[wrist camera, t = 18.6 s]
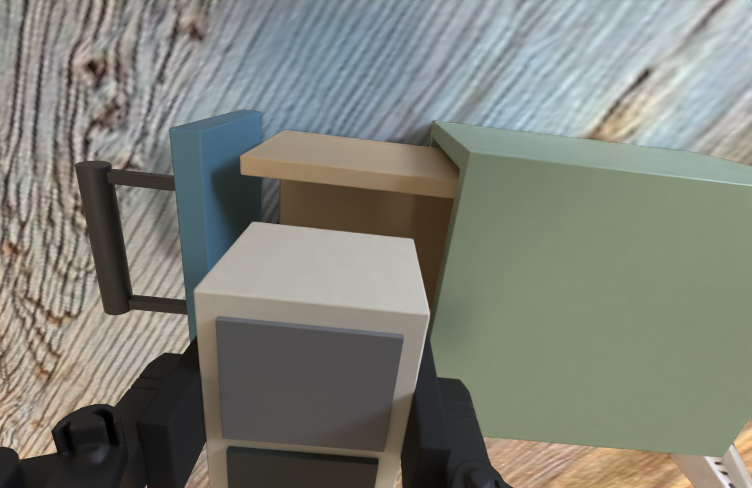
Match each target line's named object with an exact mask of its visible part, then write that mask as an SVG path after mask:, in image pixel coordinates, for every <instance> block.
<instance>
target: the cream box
mask: <svg viewBox="0 0 752 488" xmlns="http://www.w3.org/2000/svg"><path fill="white" fill-rule="evenodd" d="M194 304H195V316H196V328H197V340H198V352H199V364H200V376H201V388H202V400H203V412H204V424H205V436H206V448H207V460H208V472H209V484H210V488H395V485H396V480H397V475H398V470H399V465H400V460H401V454H402V449H403V444H404V439H405V434H406V429H407V424H408V420H409V415H410V410H411V405H412V400H413V395H414V391H415V387H416V382H417V377H418V372H419V367H420V362H421V358H422V353H423V348H424V343H425V338H426V333H427V328H428V323H429V318H430V311H429V307H428V302H427V298H426V293H425V289H424V285H423V280H422V276H421V271H420V267H419V262H418V258H417V253H416V249H415V244H414V240H413V239H408V238H399V237H389V236H380V235H371V234H362V233H353V232H344V231H334V230H325V229H316V228H307V227H298V226H289V225H279V224H270V223H261V222H252V223H251V224H250V225H249V226H248V228H247V229H246V230H245V231H244V232H243V233H242V235H241V236H240V237H239V238H238V239H237V240H236V241H235V243H234V244H233V245H232V246H231V247H230V248H229V250H228V251H227V252H226V253H225V254H224V255H223V256H222V258H221V259H220V260H219V261H218V262H217V263H216V265H215V266H214V267H213V268H212V269H211V270H210V272H209V273H208V274H207V275H206V276H205V277H204V278H203V280H202V281H201V282H200V283H199V284H198V285H197V287H196V288H195V289H194Z"/></svg>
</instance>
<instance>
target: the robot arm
mask: <svg viewBox="0 0 752 488" xmlns="http://www.w3.org/2000/svg"><path fill="white" fill-rule="evenodd" d="M51 432H52V436H53V439H54V442H55V445H56V448H57V453H53V454H48V455H43V456H37V457H32V458H27V459H21V460H20V459H19V456H18V454H17V453H16V452H15V451H14V450H13V449H11V448H7V447H0V488H145V486H146V484H147V488H184V487H185V485H186V483H187V481H188V479H189V477H190V474H191V472H192V470H193V468H194V466H195V464H196V462H197V459H198V457H199V455H200V453H201V451H202V449H203V447H204V445H205V442H206V436H205V424H204V412H203V400H202V388H201V376H200V364H199V352H198V340H197V335H196V336H195V338H194V339H193V340H192V342H191V343H190V345H189V346H188V348H187V349H186V350H185V352H184V353H183V354H175V353H163V354H162V355H160V356H159V357H157V358H156V359H155V360H153V361H152V362H150V363H149V364H148V365H147V367H146V368H145V369H144V370H143V372H142V373H141V374H140V376H139V378H137V379H136V381H135V382H134V383H133V384H132V386H131V388H130V389H128V391H127V392H126V393H125V394H124V396H123V397H122V398H121V400H120V401H119V402H118V403H117V405H116V406H115V407H113V406H110V405H108V404H94V405H90V406H86V407H82V408H80V409H78V410H76V411H74V412H72V413H69V414H68V415H67V416H65V417H64V418H63V419H62V420H60V421H59V422H58V423H57V424H56V426H55V427H54V428H53V430H52V431H51ZM401 470H402V487H403V488H513V487H511V486H510V485H508V484H507V483H506V482H504V480H503V479H502V477H501V475H500V474H499V472H497V471H496V470H495V469H494V468H493V467H492V465H491V463H490V461H489V457H488V454H487V451H486V447H485V444H484V440H483V437H482V433H481V430H480V426H479V423H478V419H477V418H476V412H475V409H474V408H473V402H472V399H471V395H470V392H469V390H468V389H467V388H466V386H465V385H464V384H463V382H462V381H461V380H460V379H452V378H442V377H437V373H436V368H435V363H434V358H433V353H432V348H431V343H430V337H429V332H428V328H427V333H426V338H425V343H424V348H423V353H422V358H421V362H420V367H419V372H418V377H417V382H416V387H415V391H414V395H413V400H412V405H411V410H410V415H409V420H408V424H407V429H406V434H405V439H404V444H403V449H402V454H401Z"/></svg>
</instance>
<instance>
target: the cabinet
mask: <svg viewBox="0 0 752 488" xmlns="http://www.w3.org/2000/svg"><path fill="white" fill-rule="evenodd" d="M429 147H432V148H440V149H443V150H444V151H445V152H446V154H447V155H448V156H449V157H450V158H451V159H452V161H453V162H454V163H455V164H456V165H457V166H458V168H459V169H460V173H459V178H458V183H457V187H456V192H455V197H454V202H453V207H452V212H451V217H450V222H449V226H448V231H447V236H446V241H445V246H444V251H443V256H442V261H441V265H440V270H439V275H438V280H437V285H436V290H435V295H434V299H433V304H432V309H431V314H430V319H429V324H428V332H429V337H430V343H431V348H432V353H433V358H434V363H435V368H436V373H437V377H442V378H452V379H460V380H461V381H462V382H463V384H464V385H465V386H466V388H467V389H468V390H469V392H470V395H471V399H472V402H473V408H474V409H475V412H476V418H477V419H478V423H479V426H480V430H481V433H482V437H493V438H504V439H516V440H527V441H538V442H550V443H561V444H572V445H583V446H595V447H606V448H617V449H629V450H640V451H651V452H662V453H674V454H685V455H696V456H708V457H719V458H722V457H723V456H724V455H725V453H726V452H727V450H728V449H729V448H730V446H731V445H732V443H733V442H734V440H735V439H736V438H737V436H738V435H739V433H740V432H741V430H742V429H743V427H744V426H745V425H746V423H747V422H748V420H749V419H750V417H751V416H752V166H749V165H745V164H741V163H737V162H733V161H729V160H725V159H721V158H717V157H712V156H708V155H704V154H700V153H695V152H687V151H679V150H671V149H663V148H654V147H646V146H638V145H630V144H622V143H613V142H605V141H597V140H589V139H581V138H572V137H564V136H556V135H548V134H540V133H531V132H523V131H515V130H507V129H499V128H490V127H482V126H474V125H466V124H457V123H449V122H441V121H433V124H432V130H431V136H430V142H429Z"/></svg>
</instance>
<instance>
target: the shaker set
mask: <svg viewBox="0 0 752 488" xmlns="http://www.w3.org/2000/svg"><path fill="white" fill-rule="evenodd" d="M670 457H671V458H672V460H673V461H674V462H675V463H676V464H677V466H678V467H679V468H680V470H681V471H682V472H683V473H684V475H685V476H686V477H687V478H688V480H689V481H690V482H691V484H692V485H693V486H694V487H695V488H752V475H751V474H750V472H749V471H748V469H747V468H746V466H745V464H744V462H743V460H742V458H741V456H740V454H739V453H738V451H737V449H736V447H735V445H734V443H732V445H731V446H730V448H729V449H728V450H727V452H726V453H725V455H724V456H723V457H722V458H719V457H708V456H696V455H685V454H674V453H671V454H670Z"/></svg>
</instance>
